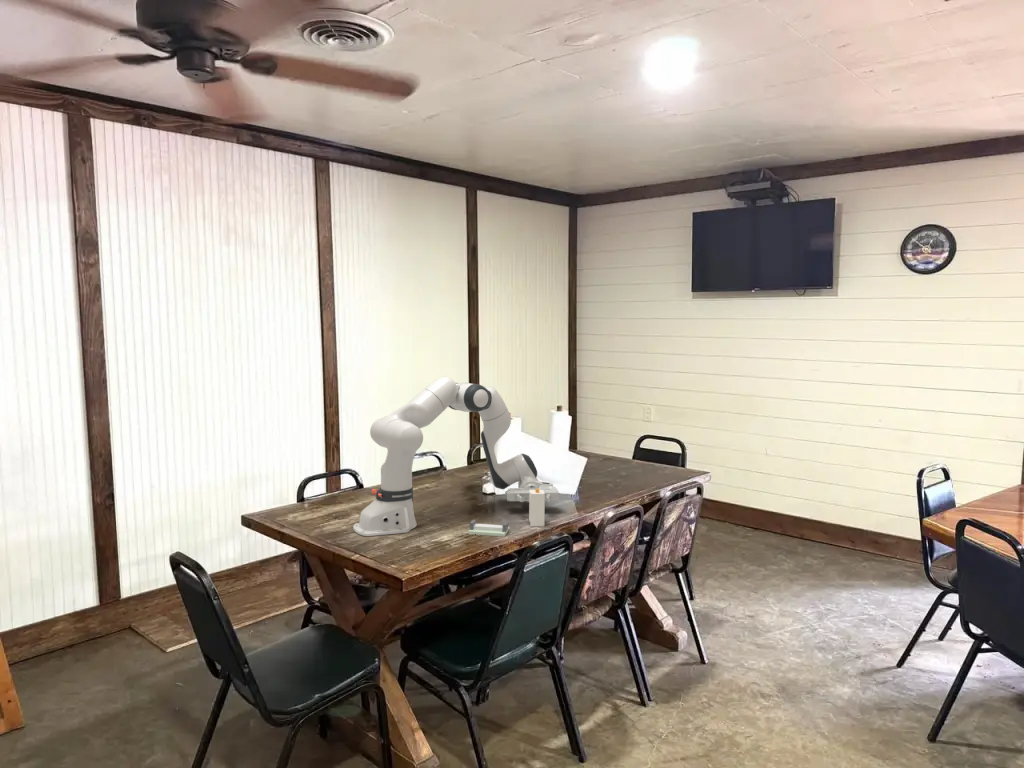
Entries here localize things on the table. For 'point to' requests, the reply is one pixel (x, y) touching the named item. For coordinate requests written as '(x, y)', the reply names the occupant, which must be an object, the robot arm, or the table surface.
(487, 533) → the rail plate
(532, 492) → the block
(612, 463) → the table surface
